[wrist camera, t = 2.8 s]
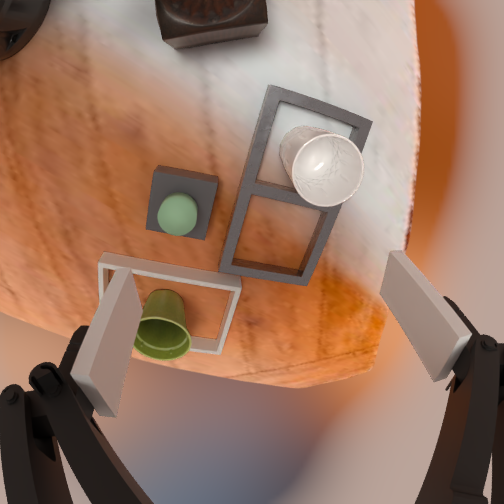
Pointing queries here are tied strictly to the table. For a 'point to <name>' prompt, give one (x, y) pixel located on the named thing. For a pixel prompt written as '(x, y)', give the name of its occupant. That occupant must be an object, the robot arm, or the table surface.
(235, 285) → the gray rectangular frame
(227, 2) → the brown manual coffee grinder
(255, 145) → the gray divided frame
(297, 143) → the white cup
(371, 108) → the table surface
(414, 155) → the table surface
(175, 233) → the button
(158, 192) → the block
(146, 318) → the plant pot
